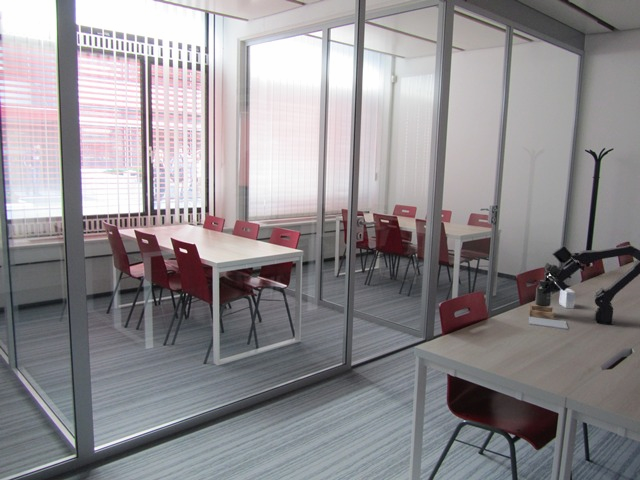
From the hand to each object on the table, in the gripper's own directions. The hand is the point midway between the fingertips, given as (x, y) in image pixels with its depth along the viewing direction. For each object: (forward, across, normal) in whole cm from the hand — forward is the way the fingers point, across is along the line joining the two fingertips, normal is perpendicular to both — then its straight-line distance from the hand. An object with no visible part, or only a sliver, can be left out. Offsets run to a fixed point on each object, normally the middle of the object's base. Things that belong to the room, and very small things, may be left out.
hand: (540, 291), depth 246 cm
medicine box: (-5, -20, +22) cm, 30 cm away
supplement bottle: (+4, 0, +6) cm, 7 cm away
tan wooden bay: (+7, 0, +9) cm, 12 cm away
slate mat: (+8, +13, +9) cm, 18 cm away
